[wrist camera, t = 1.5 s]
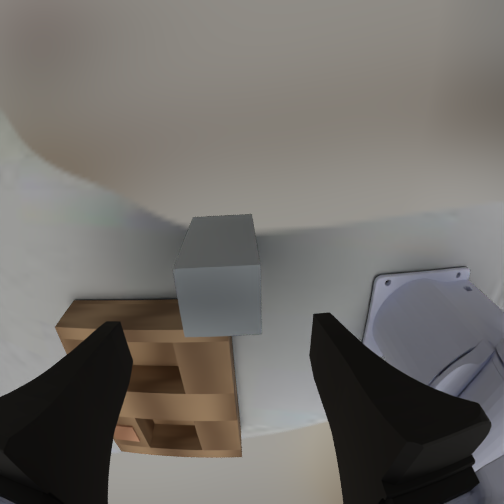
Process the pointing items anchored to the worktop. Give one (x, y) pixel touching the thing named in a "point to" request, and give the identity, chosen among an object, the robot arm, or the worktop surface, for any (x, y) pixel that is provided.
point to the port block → (166, 379)
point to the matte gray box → (219, 278)
